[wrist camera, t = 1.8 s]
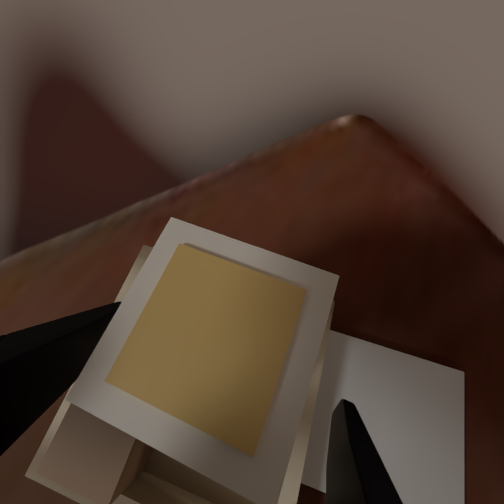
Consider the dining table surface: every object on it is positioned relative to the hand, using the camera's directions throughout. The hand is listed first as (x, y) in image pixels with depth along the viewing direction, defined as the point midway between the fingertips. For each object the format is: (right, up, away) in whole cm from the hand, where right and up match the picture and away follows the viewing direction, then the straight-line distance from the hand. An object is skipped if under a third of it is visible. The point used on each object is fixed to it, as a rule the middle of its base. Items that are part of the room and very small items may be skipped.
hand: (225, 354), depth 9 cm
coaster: (+10, -7, +6) cm, 13 cm away
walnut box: (-6, -6, +7) cm, 11 cm away
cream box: (+1, -2, +8) cm, 8 cm away
